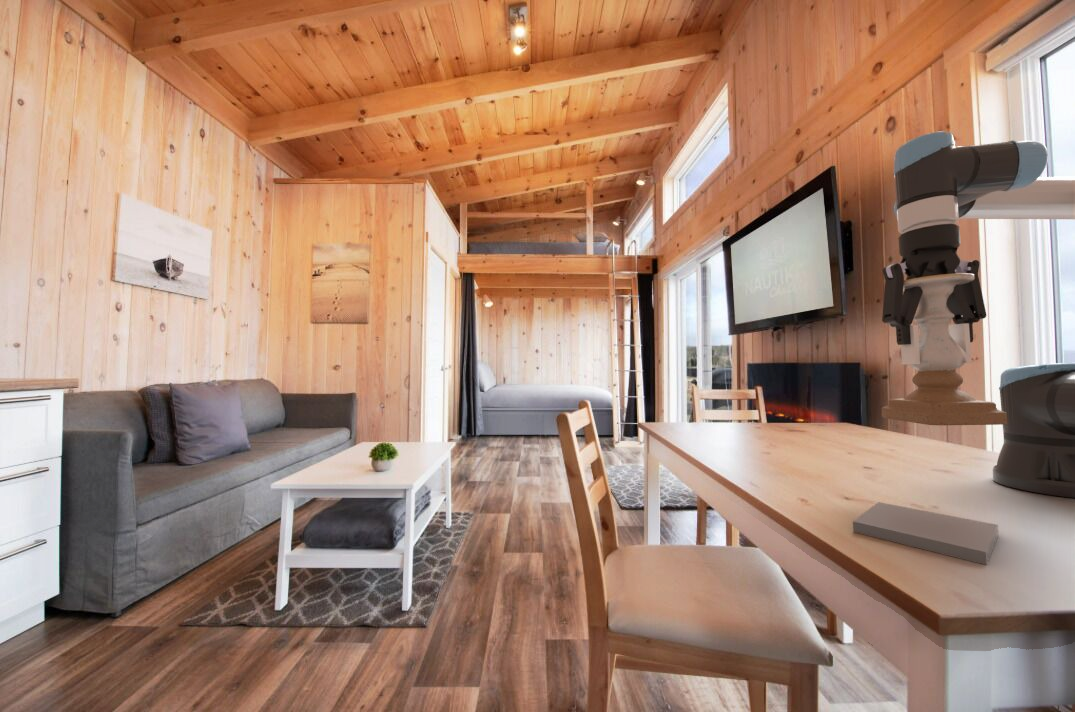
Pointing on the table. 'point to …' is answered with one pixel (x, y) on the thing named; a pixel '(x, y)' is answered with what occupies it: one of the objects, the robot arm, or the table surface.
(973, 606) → the table surface
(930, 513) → the slate tile
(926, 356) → the candle holder
